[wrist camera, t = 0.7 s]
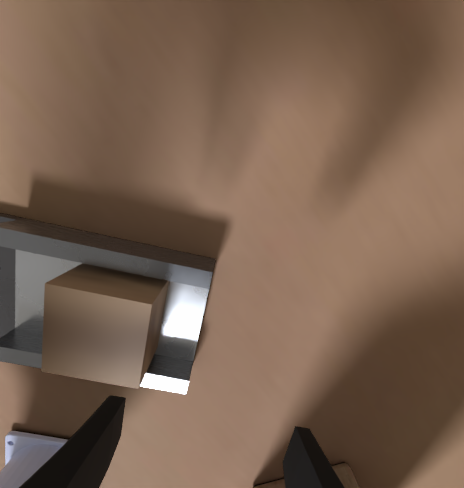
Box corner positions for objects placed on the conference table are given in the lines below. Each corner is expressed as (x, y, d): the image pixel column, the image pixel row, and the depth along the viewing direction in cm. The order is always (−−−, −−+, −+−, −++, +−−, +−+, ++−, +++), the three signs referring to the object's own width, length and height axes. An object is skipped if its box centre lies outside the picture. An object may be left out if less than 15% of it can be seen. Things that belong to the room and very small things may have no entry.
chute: (192, 366, 20) (186, 394, 18) (-106, 310, 19) (-163, 331, 16) (215, 259, 18) (212, 272, 15) (-122, 187, 17) (-191, 187, 14)
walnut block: (157, 347, 19) (138, 389, 15) (81, 332, 19) (41, 371, 15) (169, 278, 17) (152, 304, 14) (86, 260, 17) (44, 283, 13)
